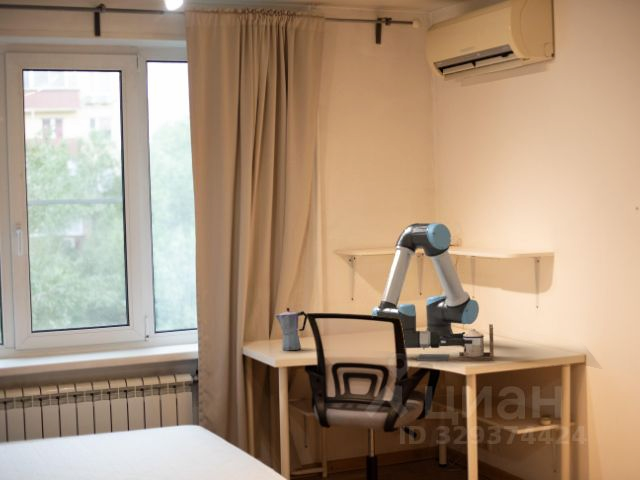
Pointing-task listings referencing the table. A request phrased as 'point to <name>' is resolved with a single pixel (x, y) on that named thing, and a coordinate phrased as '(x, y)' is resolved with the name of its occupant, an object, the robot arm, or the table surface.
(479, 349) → the teacup with lid
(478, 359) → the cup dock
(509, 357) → the table surface
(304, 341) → the table surface
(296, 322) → the moka pot
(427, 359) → the slate mat
